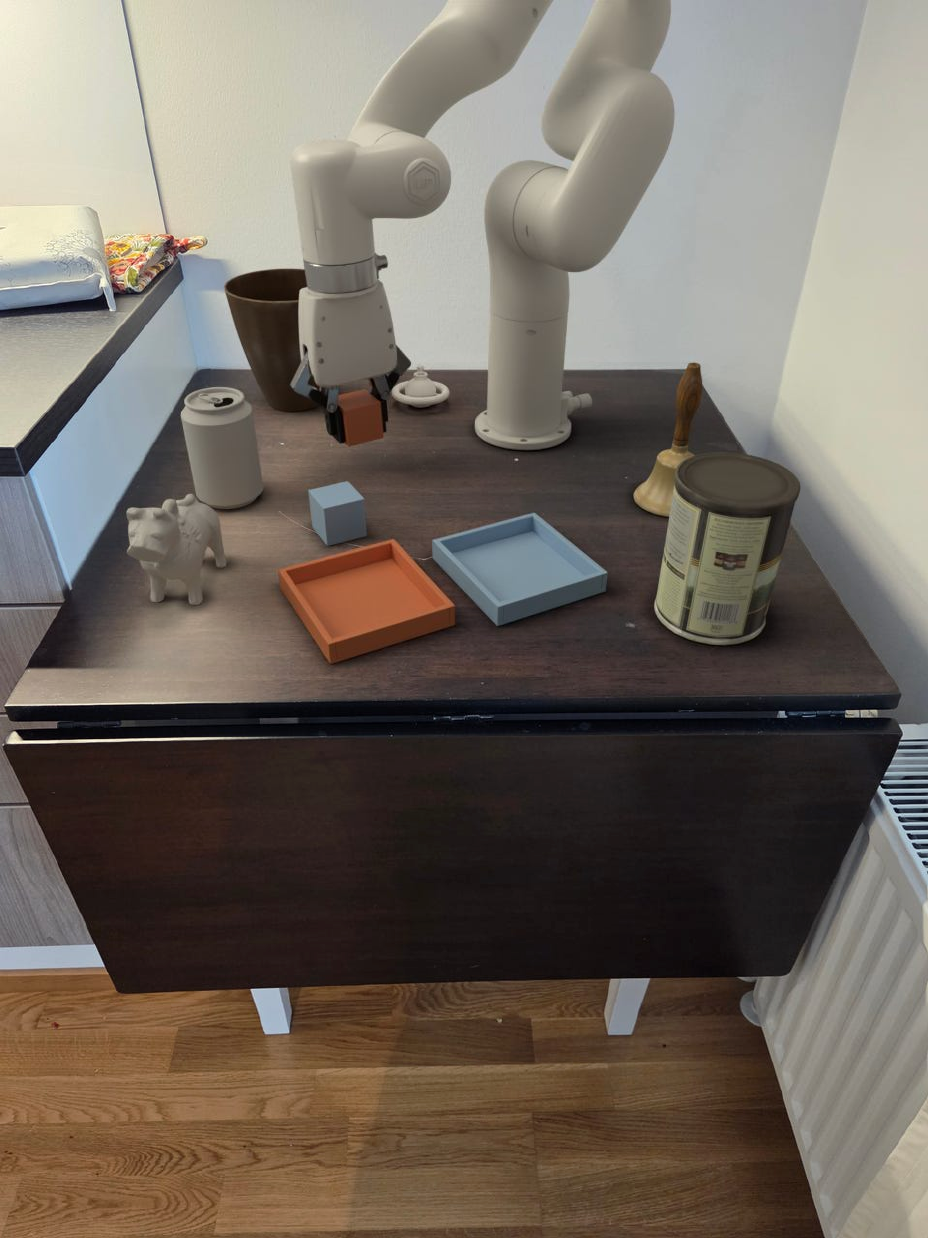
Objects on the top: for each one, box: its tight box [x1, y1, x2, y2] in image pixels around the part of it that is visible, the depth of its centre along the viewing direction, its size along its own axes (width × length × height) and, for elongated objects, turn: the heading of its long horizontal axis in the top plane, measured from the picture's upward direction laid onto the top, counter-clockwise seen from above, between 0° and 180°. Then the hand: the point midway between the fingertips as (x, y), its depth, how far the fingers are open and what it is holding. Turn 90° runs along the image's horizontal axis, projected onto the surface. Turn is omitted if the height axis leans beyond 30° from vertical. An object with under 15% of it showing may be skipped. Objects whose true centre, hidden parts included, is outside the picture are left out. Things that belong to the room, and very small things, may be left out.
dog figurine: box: [126, 493, 228, 606], centre depth 81 cm, size 5×13×11 cm, turn 173°
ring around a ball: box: [391, 364, 451, 408], centre depth 120 cm, size 8×6×8 cm
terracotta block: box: [338, 388, 385, 448], centre depth 102 cm, size 4×4×4 cm
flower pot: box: [223, 268, 320, 412], centre depth 117 cm, size 15×15×16 cm
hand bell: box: [633, 362, 704, 518], centre depth 95 cm, size 8×8×16 cm
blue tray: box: [431, 512, 609, 627], centre depth 86 cm, size 12×13×2 cm
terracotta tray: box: [277, 538, 456, 665], centre depth 82 cm, size 12×13×2 cm
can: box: [180, 386, 264, 510], centre depth 96 cm, size 8×8×12 cm
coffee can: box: [653, 451, 801, 646], centre depth 78 cm, size 10×10×14 cm
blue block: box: [308, 480, 368, 547], centre depth 92 cm, size 4×4×4 cm
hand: (358, 432), depth 103 cm, fingers closed on terracotta block, 4 cm apart
